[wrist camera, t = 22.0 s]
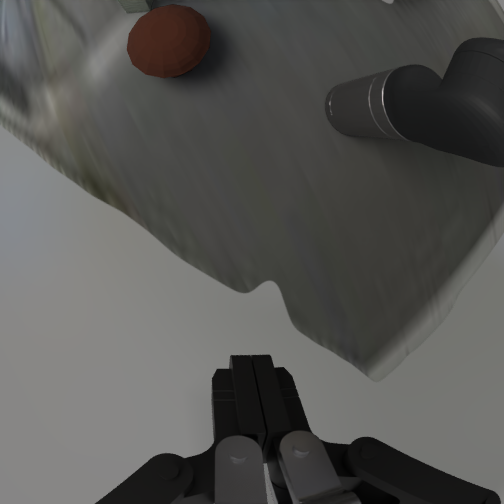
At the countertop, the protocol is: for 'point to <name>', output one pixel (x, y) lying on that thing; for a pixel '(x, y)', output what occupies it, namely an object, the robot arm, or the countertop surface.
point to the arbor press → (136, 5)
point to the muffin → (168, 41)
